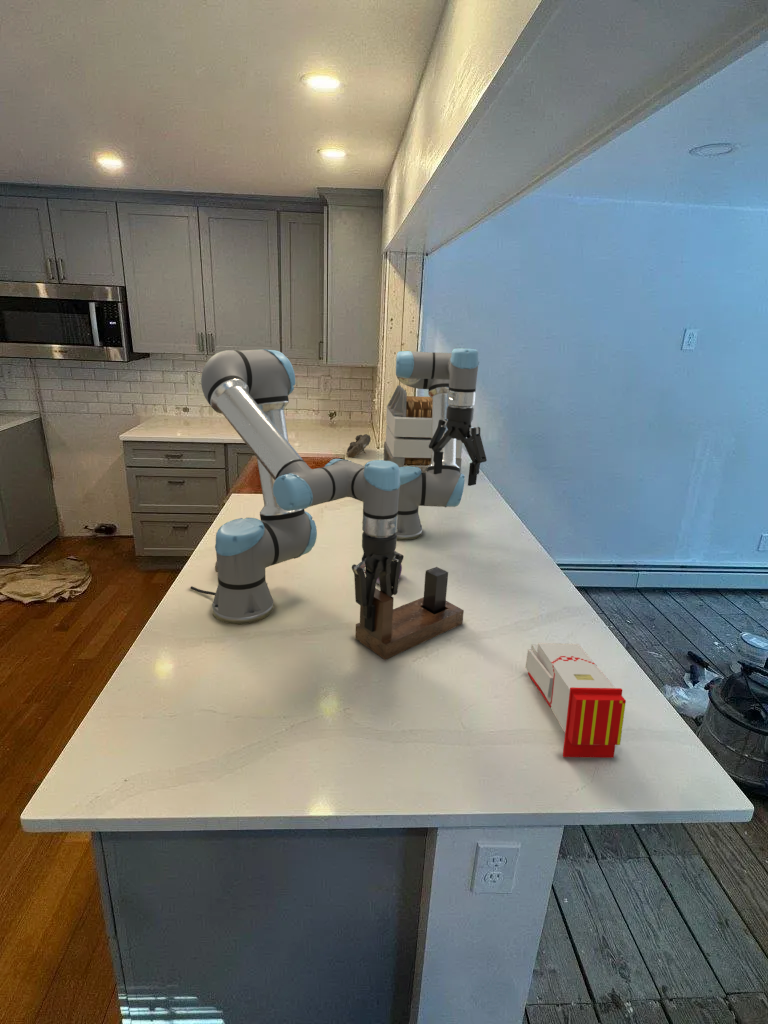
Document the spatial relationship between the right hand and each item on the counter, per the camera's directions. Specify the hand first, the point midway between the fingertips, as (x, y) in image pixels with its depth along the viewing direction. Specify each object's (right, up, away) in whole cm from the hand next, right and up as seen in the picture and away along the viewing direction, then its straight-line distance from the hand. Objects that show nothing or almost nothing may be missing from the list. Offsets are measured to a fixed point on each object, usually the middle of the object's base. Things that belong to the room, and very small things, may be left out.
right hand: (454, 479), depth 165 cm
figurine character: (-65, -27, +2) cm, 71 cm away
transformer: (-3, +9, +109) cm, 110 cm away
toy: (+16, -49, -51) cm, 72 cm away
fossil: (-34, +22, +141) cm, 147 cm away
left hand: (-22, -36, -35) cm, 55 cm away
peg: (-8, -38, -20) cm, 43 cm away
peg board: (-14, -39, -26) cm, 49 cm away
